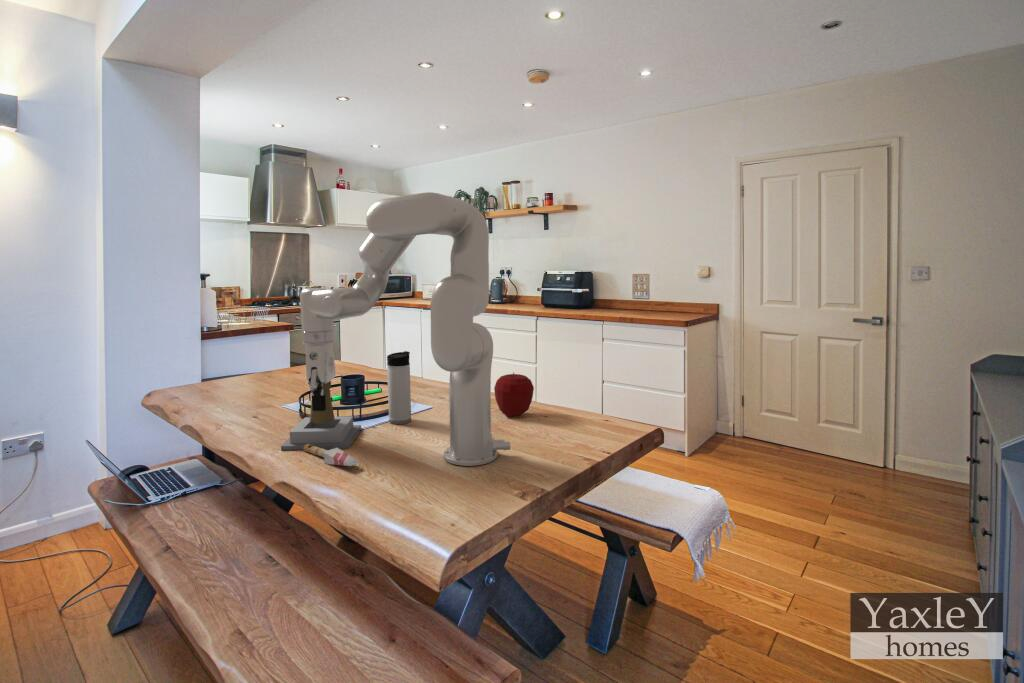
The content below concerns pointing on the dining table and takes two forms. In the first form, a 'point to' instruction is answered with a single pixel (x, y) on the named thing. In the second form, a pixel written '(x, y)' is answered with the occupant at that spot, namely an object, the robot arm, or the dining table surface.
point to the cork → (328, 413)
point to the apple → (513, 394)
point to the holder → (323, 434)
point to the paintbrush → (332, 455)
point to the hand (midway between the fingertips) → (321, 407)
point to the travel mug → (399, 388)
